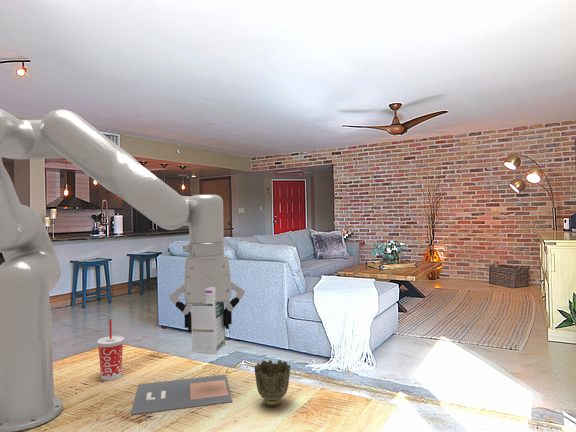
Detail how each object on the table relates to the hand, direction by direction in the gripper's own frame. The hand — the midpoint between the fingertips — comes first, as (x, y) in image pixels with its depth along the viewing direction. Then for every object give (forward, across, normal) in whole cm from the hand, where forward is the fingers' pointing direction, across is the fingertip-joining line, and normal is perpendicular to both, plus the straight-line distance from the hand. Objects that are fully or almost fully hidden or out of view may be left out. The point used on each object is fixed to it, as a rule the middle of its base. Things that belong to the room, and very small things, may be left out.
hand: (208, 328), depth 91 cm
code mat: (+14, -6, 0) cm, 15 cm away
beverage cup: (+14, -23, +14) cm, 30 cm away
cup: (+14, +12, -10) cm, 21 cm away
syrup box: (+5, 0, 0) cm, 5 cm away
